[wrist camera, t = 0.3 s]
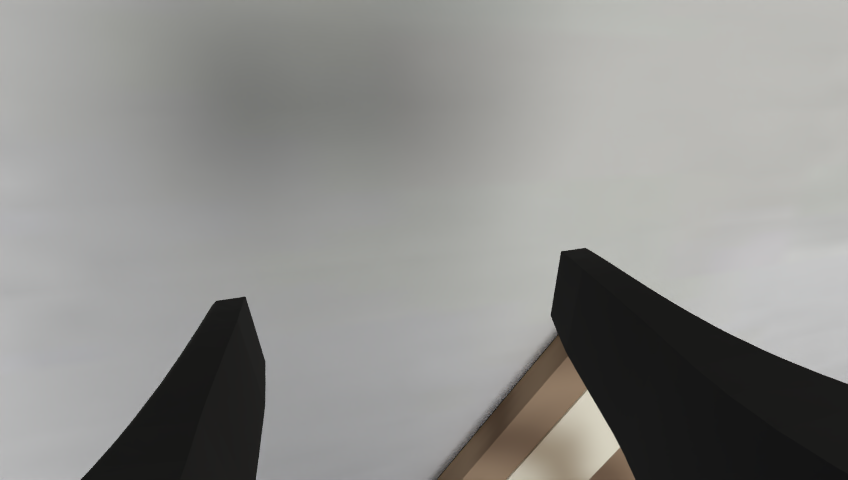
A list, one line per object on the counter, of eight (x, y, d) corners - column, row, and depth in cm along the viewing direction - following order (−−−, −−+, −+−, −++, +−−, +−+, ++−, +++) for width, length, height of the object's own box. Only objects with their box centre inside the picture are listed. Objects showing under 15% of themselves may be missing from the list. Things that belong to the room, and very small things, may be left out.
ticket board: (548, 553, 35) (558, 578, 34) (407, 515, 31) (412, 541, 29) (708, 390, 31) (728, 410, 30) (572, 317, 27) (588, 336, 25)
